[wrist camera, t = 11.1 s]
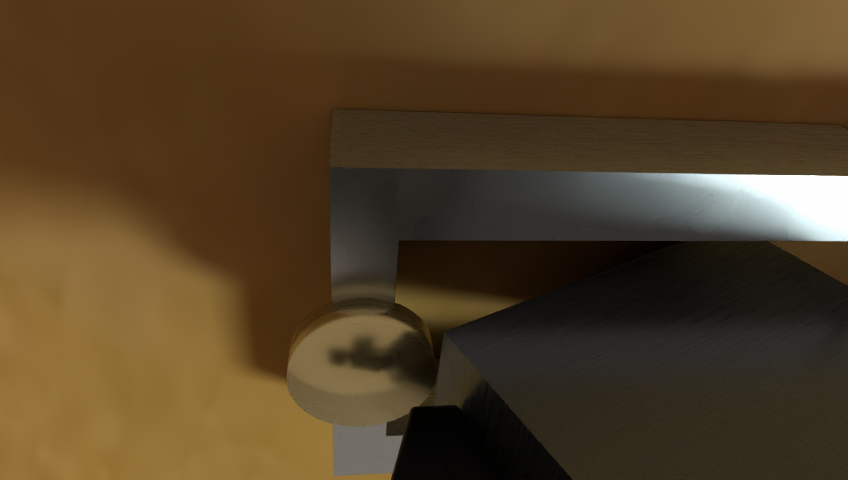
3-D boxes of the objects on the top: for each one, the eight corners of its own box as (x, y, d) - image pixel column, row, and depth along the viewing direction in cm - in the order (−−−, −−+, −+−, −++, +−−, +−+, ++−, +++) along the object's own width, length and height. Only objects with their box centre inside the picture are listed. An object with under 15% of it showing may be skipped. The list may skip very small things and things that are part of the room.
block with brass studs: (428, 449, 10) (700, 842, 6) (443, 332, 9) (817, 759, 5) (687, 324, 13) (969, 533, 10) (732, 221, 12) (1092, 424, 8)
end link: (839, 124, 11) (960, 197, 9) (705, 385, 15) (766, 478, 13) (287, 108, 9) (271, 188, 7) (303, 399, 13) (296, 505, 11)
